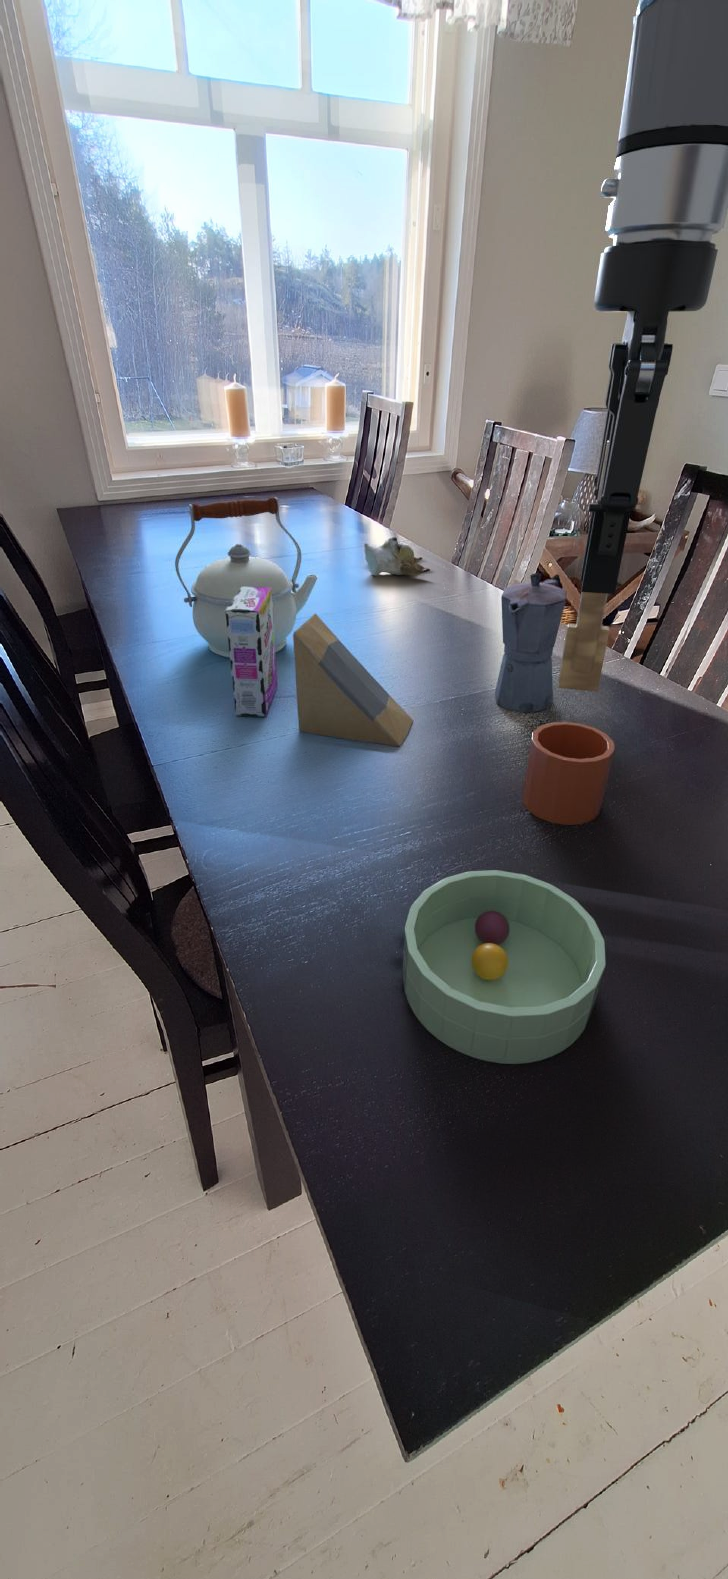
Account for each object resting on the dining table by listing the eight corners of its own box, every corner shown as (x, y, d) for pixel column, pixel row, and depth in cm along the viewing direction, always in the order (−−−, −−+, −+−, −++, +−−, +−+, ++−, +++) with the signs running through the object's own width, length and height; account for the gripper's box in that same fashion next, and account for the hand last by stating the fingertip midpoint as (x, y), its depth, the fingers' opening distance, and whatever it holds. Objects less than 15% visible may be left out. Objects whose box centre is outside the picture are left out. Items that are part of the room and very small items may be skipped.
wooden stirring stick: (596, 684, 66) (645, 439, 54) (597, 694, 64) (648, 443, 52) (557, 681, 67) (597, 438, 55) (557, 690, 65) (598, 442, 53)
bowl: (589, 933, 67) (602, 886, 64) (594, 1084, 54) (609, 1036, 50) (420, 903, 70) (423, 858, 67) (385, 1039, 57) (386, 991, 54)
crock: (596, 797, 86) (612, 726, 81) (598, 840, 79) (616, 766, 73) (522, 787, 88) (533, 717, 82) (518, 829, 81) (530, 755, 75)
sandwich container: (400, 747, 96) (404, 645, 88) (297, 732, 100) (291, 632, 91) (414, 719, 103) (419, 622, 95) (317, 706, 107) (314, 611, 98)
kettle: (200, 673, 116) (178, 518, 102) (178, 636, 130) (156, 494, 116) (337, 650, 125) (335, 503, 111) (303, 617, 139) (296, 483, 125)
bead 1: (501, 952, 65) (499, 920, 67) (517, 941, 63) (514, 908, 64) (470, 948, 65) (468, 916, 66) (484, 936, 62) (482, 903, 64)
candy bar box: (268, 718, 103) (259, 611, 94) (234, 717, 103) (222, 610, 94) (279, 685, 113) (272, 585, 103) (249, 684, 113) (239, 584, 104)
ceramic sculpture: (361, 530, 162) (424, 532, 164) (359, 567, 166) (420, 569, 168) (367, 542, 153) (433, 544, 155) (365, 581, 158) (429, 583, 160)
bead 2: (520, 957, 61) (495, 951, 64) (498, 939, 60) (473, 934, 62) (506, 990, 60) (481, 983, 63) (483, 972, 59) (458, 966, 61)
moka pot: (472, 709, 106) (485, 578, 95) (515, 674, 116) (531, 553, 105) (531, 726, 101) (552, 591, 90) (569, 689, 112) (592, 563, 101)
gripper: (597, 252, 54) (552, 559, 67) (609, 230, 41) (552, 613, 55) (700, 249, 52) (634, 564, 65) (745, 226, 40) (652, 620, 53)
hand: (597, 585), depth 60 cm, fingers closed on wooden stirring stick, 2 cm apart
